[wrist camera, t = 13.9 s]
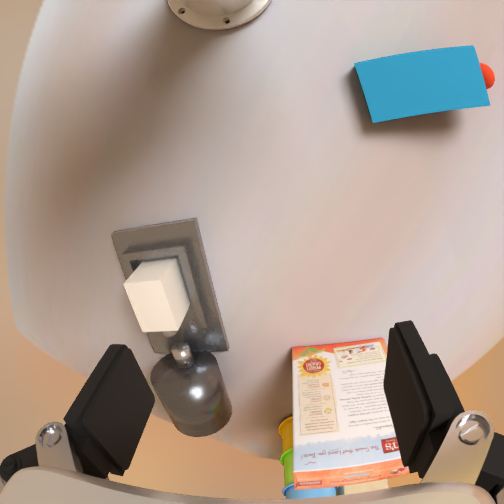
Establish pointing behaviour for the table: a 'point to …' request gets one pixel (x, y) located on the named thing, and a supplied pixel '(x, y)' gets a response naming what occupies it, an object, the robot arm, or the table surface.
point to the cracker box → (342, 416)
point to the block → (158, 296)
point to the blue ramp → (424, 82)
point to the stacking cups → (287, 462)
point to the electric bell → (184, 328)
